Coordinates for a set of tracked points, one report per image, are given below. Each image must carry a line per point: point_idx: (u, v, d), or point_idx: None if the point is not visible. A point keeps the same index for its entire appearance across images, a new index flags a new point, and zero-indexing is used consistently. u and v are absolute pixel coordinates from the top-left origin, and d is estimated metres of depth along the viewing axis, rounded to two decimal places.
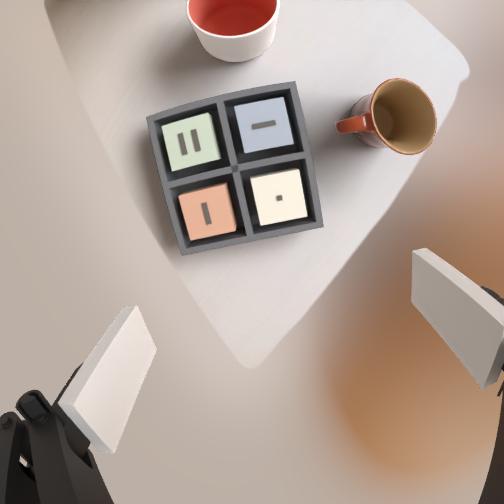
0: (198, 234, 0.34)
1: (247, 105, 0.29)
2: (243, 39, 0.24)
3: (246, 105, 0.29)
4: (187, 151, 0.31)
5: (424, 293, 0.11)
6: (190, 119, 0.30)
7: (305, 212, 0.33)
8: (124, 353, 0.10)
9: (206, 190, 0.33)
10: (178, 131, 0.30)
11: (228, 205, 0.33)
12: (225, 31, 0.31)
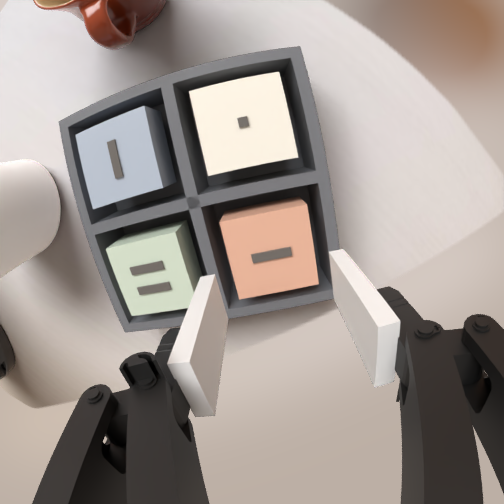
0: (309, 270, 0.19)
1: (90, 188, 0.17)
2: None
3: (90, 190, 0.17)
4: (165, 282, 0.20)
5: (338, 291, 0.13)
6: (117, 274, 0.20)
7: (271, 75, 0.15)
8: (212, 317, 0.12)
9: (230, 253, 0.19)
10: (136, 293, 0.20)
11: (258, 215, 0.18)
12: None
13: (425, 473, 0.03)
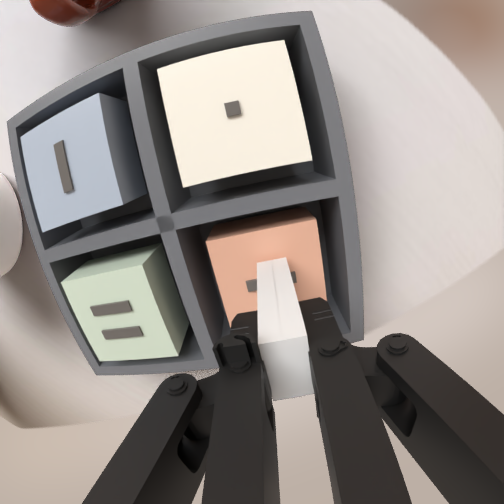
0: None
1: (37, 205, 0.12)
2: None
3: (37, 207, 0.12)
4: (135, 326, 0.14)
5: None
6: (77, 313, 0.14)
7: (273, 44, 0.10)
8: None
9: (219, 280, 0.15)
10: (101, 336, 0.15)
11: (254, 233, 0.14)
12: None
13: (342, 497, 0.03)
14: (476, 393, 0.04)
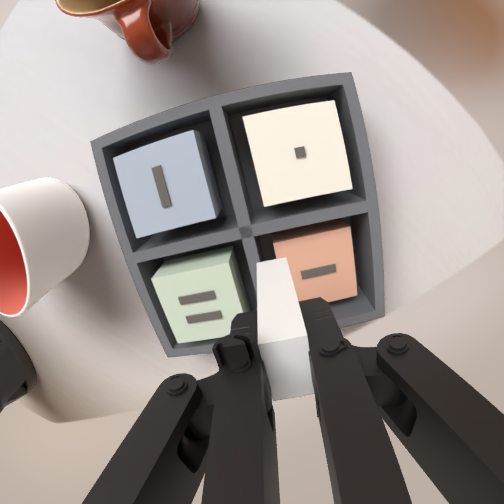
0: (349, 283, 0.21)
1: (132, 216, 0.18)
2: (28, 239, 0.15)
3: (132, 218, 0.18)
4: (216, 311, 0.20)
5: None
6: (163, 303, 0.20)
7: (326, 103, 0.15)
8: None
9: None
10: (184, 321, 0.20)
11: (307, 237, 0.20)
12: None
13: (343, 497, 0.03)
14: (476, 394, 0.04)
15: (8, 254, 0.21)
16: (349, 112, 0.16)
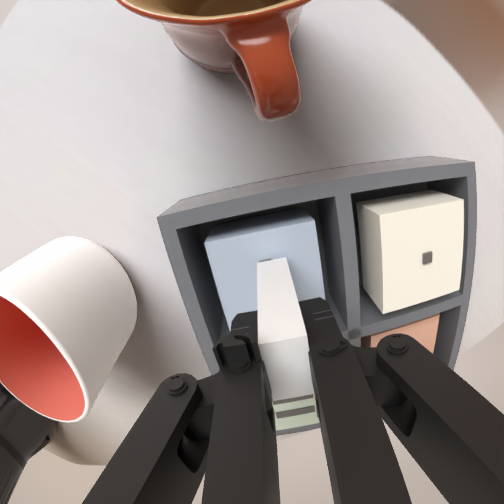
0: None
1: (228, 312, 0.16)
2: (79, 355, 0.12)
3: (228, 313, 0.16)
4: (310, 406, 0.17)
5: None
6: None
7: (457, 203, 0.12)
8: None
9: None
10: None
11: (403, 328, 0.17)
12: None
13: (342, 496, 0.03)
14: (476, 393, 0.04)
15: (29, 328, 0.17)
16: (466, 207, 0.14)
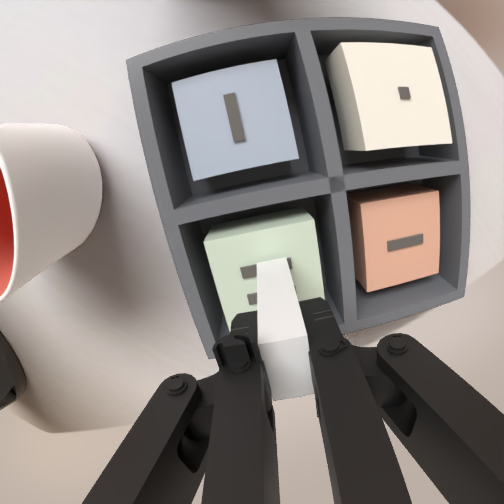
0: (433, 258, 0.16)
1: (191, 153, 0.14)
2: (21, 183, 0.10)
3: (191, 155, 0.14)
4: None
5: None
6: (217, 277, 0.15)
7: (425, 48, 0.10)
8: None
9: (366, 240, 0.16)
10: (243, 302, 0.16)
11: (398, 199, 0.15)
12: None
13: (342, 497, 0.03)
14: (476, 393, 0.04)
15: None
16: (440, 65, 0.11)
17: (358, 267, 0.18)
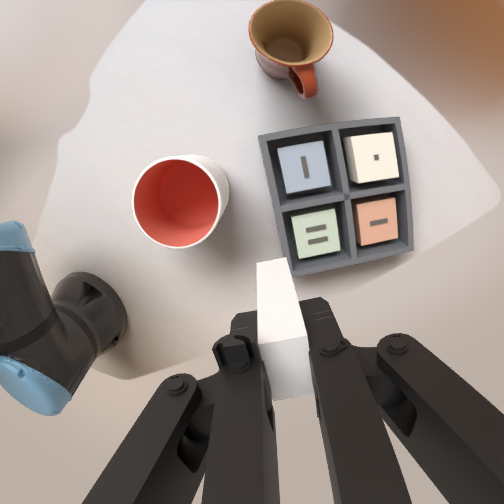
0: (394, 230, 0.36)
1: (286, 181, 0.34)
2: (220, 190, 0.30)
3: (286, 182, 0.34)
4: (325, 236, 0.36)
5: None
6: (295, 232, 0.36)
7: (388, 133, 0.30)
8: None
9: (360, 220, 0.35)
10: (306, 243, 0.37)
11: (374, 202, 0.35)
12: (191, 202, 0.39)
13: (342, 497, 0.03)
14: (476, 393, 0.04)
15: (154, 209, 0.35)
16: (397, 138, 0.31)
17: (357, 234, 0.38)
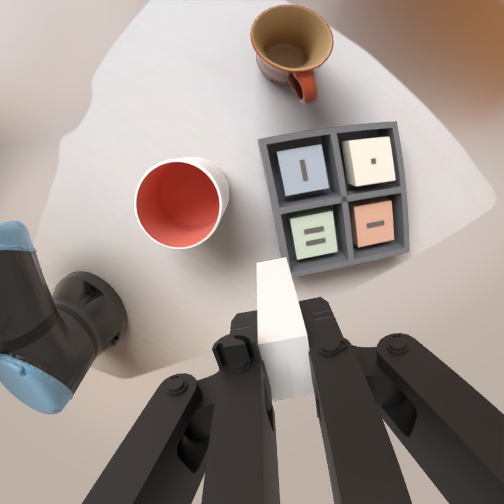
0: (390, 232, 0.37)
1: (285, 184, 0.35)
2: (221, 192, 0.30)
3: (285, 185, 0.35)
4: (322, 238, 0.37)
5: None
6: (294, 234, 0.37)
7: (386, 138, 0.31)
8: None
9: (357, 222, 0.36)
10: (304, 244, 0.38)
11: (371, 204, 0.36)
12: (191, 203, 0.40)
13: (342, 497, 0.03)
14: (476, 393, 0.04)
15: (155, 210, 0.36)
16: (394, 142, 0.32)
17: (354, 236, 0.39)
